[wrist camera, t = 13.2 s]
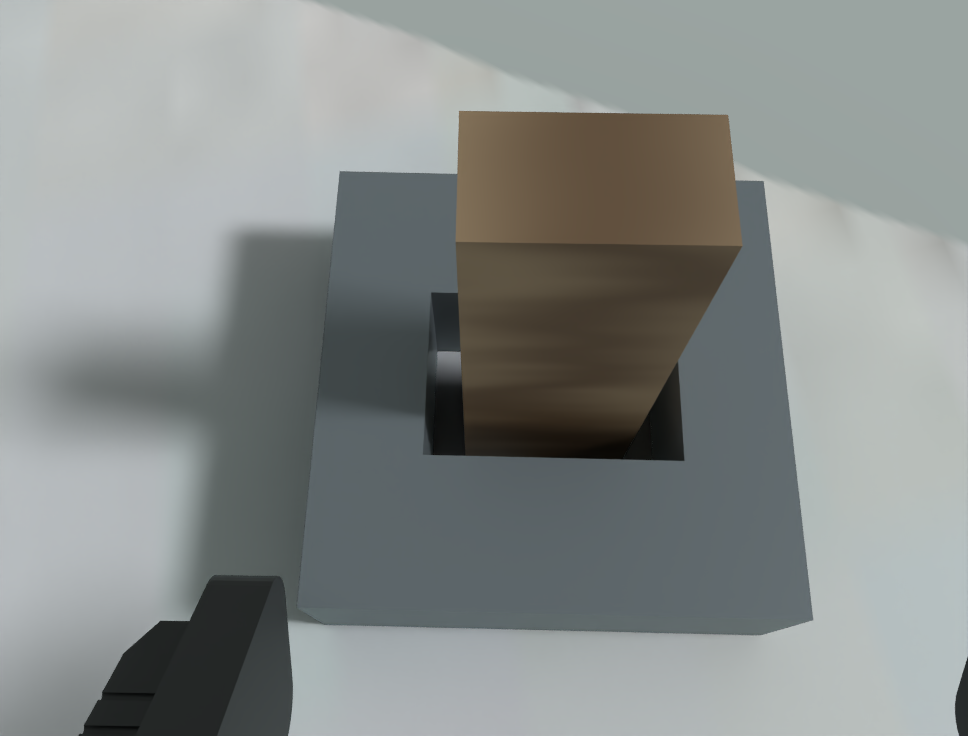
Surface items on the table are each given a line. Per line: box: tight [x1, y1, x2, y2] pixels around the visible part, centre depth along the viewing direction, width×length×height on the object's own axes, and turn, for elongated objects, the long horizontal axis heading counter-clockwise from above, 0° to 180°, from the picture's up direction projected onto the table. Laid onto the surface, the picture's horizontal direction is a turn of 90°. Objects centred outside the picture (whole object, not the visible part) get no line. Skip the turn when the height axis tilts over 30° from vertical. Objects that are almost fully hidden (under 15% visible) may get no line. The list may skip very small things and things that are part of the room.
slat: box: [456, 111, 743, 460], centre depth 20 cm, size 4×2×13 cm, turn 89°
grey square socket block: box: [297, 171, 813, 635], centre depth 24 cm, size 12×12×4 cm
